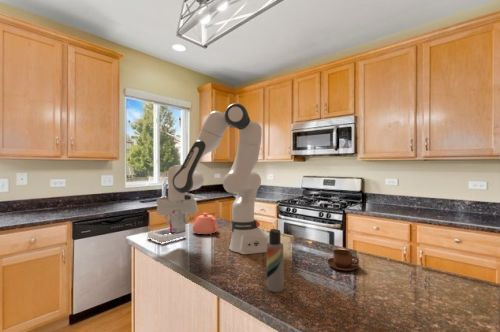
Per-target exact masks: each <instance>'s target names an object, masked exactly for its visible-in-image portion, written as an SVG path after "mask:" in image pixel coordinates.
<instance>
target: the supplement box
mask: <svg viewBox="0 0 500 332" xmlns="http://www.w3.org/2000/svg"><path fill="white" fill-rule="evenodd" d="M185 219H186V214H181V211H173V213H172V215H169V220H170V224H169V228H170V233H175V234H179V233H182V232H186V230H187V229H186V224H187V223H185Z"/></svg>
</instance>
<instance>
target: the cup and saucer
mask: <svg viewBox="0 0 500 332" xmlns="http://www.w3.org/2000/svg"><path fill="white" fill-rule="evenodd" d="M353 259H355V260H353ZM359 262H360V261H359V258H358V257H356V256H353V252H352V251H351V250H347V249H339V248H338V249H334V250H333V257H330V258H328V259H327V264H328V266H330V267H332V268H333V269H334V270H335V269H336V270H338V271H344V272H345V271H348V272H349V271H354V270H357V268H359Z"/></svg>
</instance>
